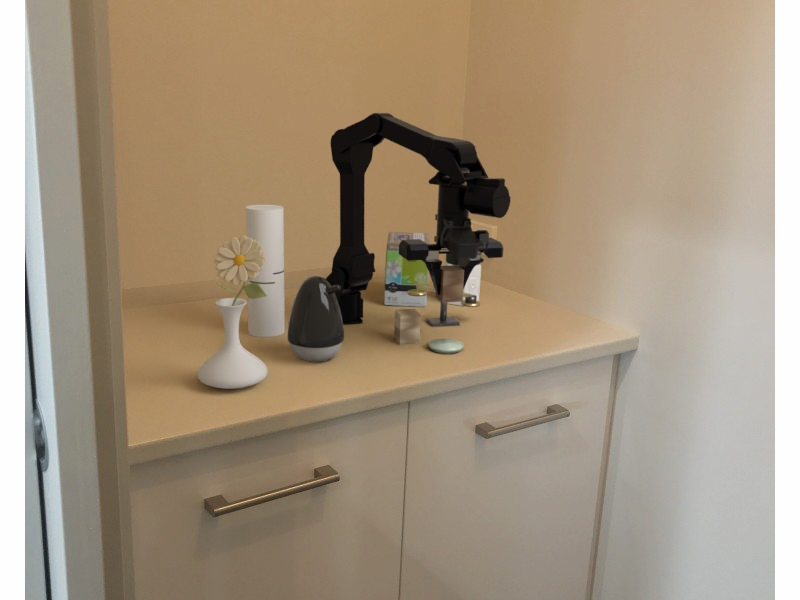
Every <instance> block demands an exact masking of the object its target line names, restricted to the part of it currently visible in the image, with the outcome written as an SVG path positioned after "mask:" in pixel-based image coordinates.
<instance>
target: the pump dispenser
mask: <svg viewBox="0 0 800 600" xmlns="http://www.w3.org/2000/svg"><path fill="white" fill-rule="evenodd" d="M340 290H341V286H340V285H335V286H331V285H330V283H329V282H328V281H327V280H326V277H322V276H320V275H313V276H309V277H307V278H306V279H305V280H303V282H302V283H301V284H300V286H299V287H298V290H297V292H296V294H295V297H294V300H293V303H292V305H291V308H290V309H291V310H290V314H289V318H288V326H287V334H286V335H287V341H288V342H289V346H290V348H291V351H292V352H293V354H294V355H295V356H296V357H298V358H299V359H301V360H303V361H306V362H309V363H310V362H312V363H321V362H325V361H328V360H331V359H332V358H333V357H335V356H336V355H337V354H338V352H340V351H339V350H340V349H341V346H342V344H343V342H344V340H345V329H344V324H343V320H342V315H341V311H340V307H339V303H338V300H337V297H336V295H335V292H337V291H340Z"/></svg>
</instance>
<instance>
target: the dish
mask: <svg viewBox="0 0 800 600" xmlns="http://www.w3.org/2000/svg"><path fill="white" fill-rule="evenodd" d="M428 348H429V349H430V350H431V351H433V352H435V353H438V354H444V355H445V354H447V355H449V354H450V355H451V354H457V353H459V352H461V351H462V350H463V349H464V343H463V342H462V341H460V340H457V339H452V338H435V339H431V340H429V341H428Z"/></svg>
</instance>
